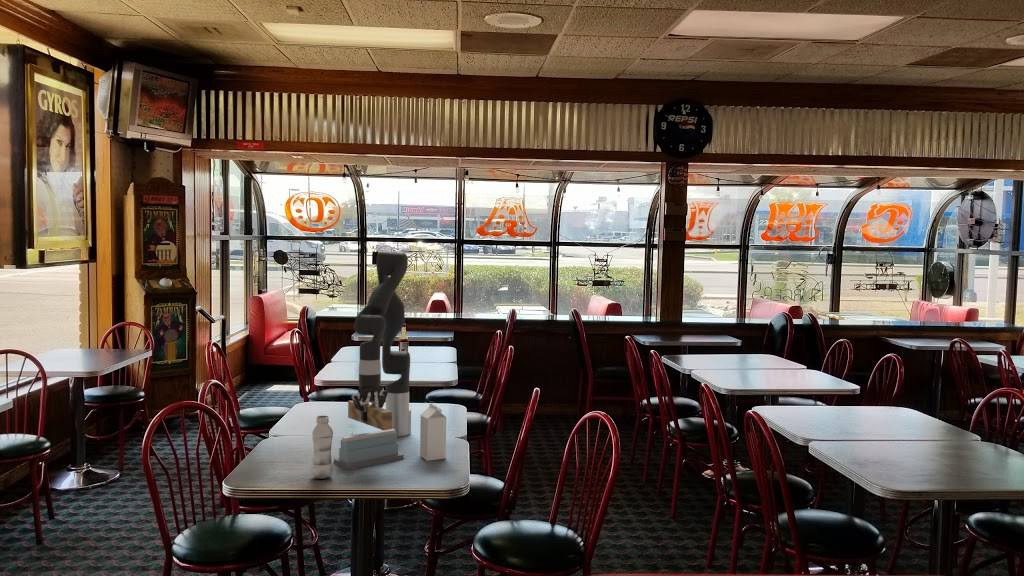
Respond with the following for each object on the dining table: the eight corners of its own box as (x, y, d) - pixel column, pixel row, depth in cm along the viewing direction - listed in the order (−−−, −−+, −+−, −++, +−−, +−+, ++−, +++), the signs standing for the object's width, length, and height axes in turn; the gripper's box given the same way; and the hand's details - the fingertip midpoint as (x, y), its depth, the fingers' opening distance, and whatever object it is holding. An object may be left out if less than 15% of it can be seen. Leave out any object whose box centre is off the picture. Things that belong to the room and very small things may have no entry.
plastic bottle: (313, 475, 255) (313, 414, 254) (334, 474, 255) (334, 414, 254) (309, 481, 248) (309, 419, 247) (331, 481, 249) (331, 419, 248)
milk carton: (427, 461, 273) (427, 407, 272) (419, 456, 279) (420, 403, 278) (446, 459, 276) (446, 405, 275) (438, 454, 283) (439, 402, 281)
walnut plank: (391, 429, 263) (392, 411, 263) (383, 430, 261) (383, 412, 261) (356, 416, 282) (356, 399, 281) (348, 417, 280) (348, 400, 279)
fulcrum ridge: (388, 452, 283) (388, 426, 283) (403, 458, 276) (404, 431, 275) (333, 463, 269) (333, 435, 268) (348, 469, 261) (348, 441, 261)
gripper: (357, 375, 263) (356, 426, 264) (393, 371, 272) (392, 420, 273) (346, 372, 269) (346, 422, 270) (381, 368, 278) (381, 416, 279)
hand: (369, 421), depth 271 cm, fingers closed on walnut plank, 3 cm apart
